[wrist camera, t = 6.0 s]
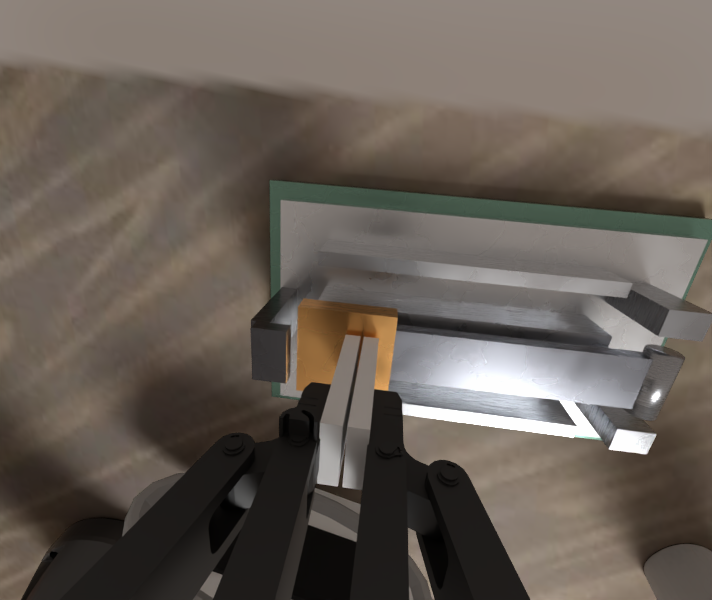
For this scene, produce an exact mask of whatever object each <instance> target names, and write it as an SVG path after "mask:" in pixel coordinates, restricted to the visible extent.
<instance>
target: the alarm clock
mask: <svg viewBox="0 0 712 600" xmlns="http://www.w3.org/2000/svg"><path fill="white" fill-rule="evenodd" d="M184 474H185V473H178V474H175V475H172V476H169V477H166V478H164V479H161V480H158V481H155V482H153V483H152V484H150V485H149V486H148V487H147V488H145V489H144V490H143V491H142V492H141V493H139V494H138V495H137V496H136V497H135V498H134V499H133V502H132V504H131V506H130V508H129V511H128V513H127V515H126V518H125V522H124V528H123V534H122V536H123V535H124V534H125V533H126V532H127V531H128V530H129V529H130V528H131V527H132V526H133V525H134V524H135V523H136V522H137V521H138V520H139V519H140V518H141V517H142V516H143V515H144V514H145V513H146V512H147V511H148V510H149V509H150V508H151V507H152V506H153V505H154V504H155V503H156V502H157V501H158V500H159V499H160V498H161V497H162V496H163V495H164V494H165V493H166V492H167V491H168V490H169V489H170V488H171V487H172V486H173V485H174V484H175V483H176V482H177V481H178V480H179V479H180V478H181V477H182V476H183V475H184ZM360 506H361V504H358V503H355V502H353V501H350V500H347V499H345V498H342V497H339V496H336V495H334V494H331V493H328V492H325V491H323V490H320V489H317V488H315V493H314V501H313V505H312V509H311V514H310V518H309V523H308V527H307V531H306V536H305V540H304V544H303V549H302V553H301V557H300V562H299V566H298V571H297V575H296V579H295V584H294V588H293V592H292V597H291V600H350V593H351V585H352V576H353V567H354V559H355V550H356V541H357V532H358V524H359V515H360ZM240 531H241V530H240ZM240 531H239V533H238V534H237V536H236V537H235V539H234V540H233V542H232V543H231V545H230V546H229V548H228V549H227V550H226V552H225V553H224V555H223V556H222V558H221V559H220V561H219V562H218V564H217V565H216V567H215V568H214V570H213V571H212V572H211V574H210V575H209V577H208V578H207V580H206V581H205V583H204V584H203V586H202V587H201V589H200V590H199V591H198V593H197V594H196V596H195V597H194V599H193V600H213V598H214V595H215V593H216V590H217V588H218V585H219V583H220V580H221V578H222V576H223V573H224V571H225V568H226V566H227V563H228V561H229V558H230V556H231V553H232V551H233V549H234V546H235V544H236V541H237V539H238V536H239V534H240ZM408 566H409V600H432V597H431V594H430V590H429V587H428V583H427V580H426V579H425V577H424V576H423V574H422V573H421V571H420V570H419V568H418V566H417V565H416V563H415V562H414V560H413V559H412V558H411V557H410V556H409V555H408Z"/></svg>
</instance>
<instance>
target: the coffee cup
mask: <svg viewBox="0 0 712 600" xmlns="http://www.w3.org/2000/svg"><path fill="white" fill-rule="evenodd" d="M644 573H645V576H646V578H647V580H648V582H649V584H650V586H651V588H652V590H653V592H654V594H655V596H656V598H657V600H712V551H710V550H709V549H707V548H704V547H702V546H698V545H694V544H679V545H674V546H670V547H667V548H665V549H662V550H660V551H658V552H657V553H655V554H653V555H652V556H651V557H650V558H649V559H648V560H647V561H646V563H645V566H644Z"/></svg>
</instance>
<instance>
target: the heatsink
mask: <svg viewBox="0 0 712 600" xmlns="http://www.w3.org/2000/svg"><path fill="white" fill-rule="evenodd" d="M711 240H712V219H708V218H700V217H689V216H677V215H666V214H655V213H644V212H632V211H621V210H610V209H599V208H588V207H576V206H565V205H554V204H543V203H532V202H520V201H509V200H498V199H487V198H475V197H464V196H453V195H442V194H431V193H419V192H408V191H397V190H386V189H374V188H363V187H352V186H341V185H330V184H318V183H307V182H296V181H285V180H270V267H271V299H270V300H269V302H268V303H267V304H266V305H265V306H264V307H263V308H262V309H261V310H260V311H259V312H258V313H257V314H256V315H255V316H254V318H253V319H252V320H251V352H252V379H254V380H262V381H269V382H272V396H273V397H280V398H288V399H295V400H300V398H301V395H302V392H303V391H298V390H296V378H297V328H298V306H299V304H300V303H301V301H302V300H303V298H305V299H314V300H323V301H332V302H342V303H351V304H360V305H369V306H378V307H388V308H397V310H398V320H397V324H398V325H407V326H416V327H424V328H433V329H442V330H451V331H460V332H469V333H478V334H487V335H496V336H505V337H514V338H523V339H532V340H541V341H550V342H559V343H568V344H577V345H586V346H595V347H604V348H613V349H622V350H631V351H640V352H643V349H644V347H645V345H648V344H653V345H659V346H663V347H664V345H665V343H666V340H667V338H676V339H685V340H694V341H703V339H704V337H705V335H706V333H707V331H708V329H709V327H710V325H711V323H712V313H711V312H709V311H707V310H704V309H702V308H700V307H698V306H696V305H694V304H692V303H689V302H687V301H685V298H686V296H687V293H688V291H689V289H690V287H691V284H692V282H693V280H694V278H695V276H696V273H697V271H698V269H699V267H700V264H701V262H702V260H703V258H704V255H705V253H706V251H707V249H708V247H709V244H710V242H711ZM388 391H393V392H397V393H398V394H399V396H400V398H401V399H402V414H403V415H410V416H418V417H425V418H433V419H440V420H448V421H455V422H463V423H470V424H478V425H485V426H493V427H500V428H508V429H515V430H523V431H530V432H538V433H545V434H552V435H560V436H567V437H580V438H587V439H595V440H602V441H603V442H604V443H605V445H606V446H607V447H608V449H610V450H618V451H625V452H633V453H640V454H647V453H648V451H649V449H650V447H651V445H652V443H653V441H654V439H655V437H656V435H657V434H656V433H655V432H654V431H653V430H652V429H651V428H650V427H649V426H648V425H647V424H646V423H645V422H644V421H643V420H642V419H640V418H637V417H635V416H633V415H631V414H629V413H627V412H626V411H625V410H624V409H623V408H618V407H610V406H602V405H593V404H585V403H577V402H569V401H560V400H552V399H544V398H536V397H527V396H519V395H511V394H503V393H494V392H486V391H478V390H469V389H461V388H453V387H445V386H436V385H428V384H420V383H412V382H403V381H395V380H389V388H388Z"/></svg>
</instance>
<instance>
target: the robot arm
mask: <svg viewBox="0 0 712 600" xmlns="http://www.w3.org/2000/svg"><path fill="white" fill-rule="evenodd" d="M360 338H361V336H355V335H345V339H344V342H343V346H342V349H341V352H340V356H339V359H338V363H337V366H336V370H335V373H334V376H333V380H332V383H331V384H323V383H316V382H311V383H310V384H309V385H308V386H306V387H305V388H304V390H303V392H302V395H301V398H300V400H299V402H298V405H297V407H295V408H291V409H288V410H286V411H285V412H283V413H282V414H281V416H280V417H279V438H277V439H274V440H272V441H267V442H259V443H254V440H253V439H252V437H251V436H249V435H247V434H244V433H232V434H229V435H226V436H223V437H222V438H221V439H219V440H218V441H217V442H216V443H215V444H214V445H213V446H212V447H211V448H210V449H209V450H208V451H207V452H206V453H205V454H204V455H203V456H202V457H201V458H200V459H199V460H198V461H197V462H196V463H195V464H194V465H193V466H192V467H191V468H190V469H189V470H188V471H187V472H186V473H185V474H184V475H183V476H182V477H181V478H180V479H179V480H178V481H177V482H176V483H175V484H174V485H173V486H172V487H171V488H170V489H169V490H168V491H167V492H166V493H165V494H164V495H163V496H162V497H161V498H160V499H159V500H158V501H157V502H156V503H155V504H154V505H153V506H152V507H151V508H150V509H149V510H148V511H147V512H146V513H145V514H144V515H143V516H142V517H141V518H140V519H139V520H138V521H137V522H136V523H135V524H134V525H133V526H132V527H131V528H130V529H129V530H128V531H127V532H126V533H125V534H124V535H123V536H122V534H123V528H124V522H123V521H119V520H113V519H104V518H95V519H87V520H83V521H79V522H77V523H75V524H73V525H71V526H70V527H69V528H68V529H66V531H65V532H64V533H63V534H62V535H61V536H60V537H59V538H58V539H57V541H56V542H55V543H54V544H53V545H52V546H51V547H50V548H49V550H48V551H47V553H46V554H45V556H44V558H43V559H42V562H41V563H40V565H39V567H38V569H37V571H36V572H35V574H34V576H33V578H32V580H31V582H30V584H29V586H28V587H27V589H26V591H25V593H24V595H23V597H22V599H21V600H193V599H194V597H195V596H196V594H197V593H198V591H199V590H200V589H201V587H202V586H203V584H204V583H205V581H206V580H207V578H208V577H209V575H210V574H211V572H212V571H213V570H214V568H215V567H216V565H217V564H218V562H219V561H220V559H221V558H222V556H223V555H224V553H225V552H226V550H227V549H228V548H229V546H230V545H231V543H232V542H233V540H234V539H235V537H236V536H237V534H238V533H239V531H240V530H241V531H240V534H239V536H238V539H237V541H236V544H235V546H234V549H233V551H232V553H231V556H230V558H229V561H228V563H227V566H226V568H225V571H224V573H223V576H222V578H221V580H220V583H219V585H218V588H217V590H216V593H215V595H214V598H213V600H291V597H292V592H293V588H294V584H295V579H296V575H297V571H298V566H299V562H300V557H301V553H302V549H303V544H304V540H305V536H306V531H307V527H308V523H309V518H310V514H311V509H312V505H313V501H314V493H315V484H316V480H317V484H323V485H330V486H337V487H338V483H339V477H340V471H341V466H342V460H343V455H344V449H345V443H346V451H345V462H344V474H343V486H342V487H344V488H351V489H357V490H362V498H361V506H360V515H359V524H358V532H357V541H356V550H355V559H354V567H353V576H352V585H351V593H350V600H409V566H408V528H410V529H412V530H414V531H416V535H417V539H418V542H419V546H420V549H421V553H422V556H423V560H424V563H425V567H426V570H427V574H428V577H429V581H430V584H431V588H432V591H433V595H434V598H435V600H530V598H529V596H528V594H527V592H526V590H525V588H524V586H523V584H522V582H521V580H520V578H519V576H518V574H517V572H516V570H515V568H514V566H513V564H512V562H511V560H510V558H509V556H508V554H507V552H506V550H505V548H504V546H503V544H502V542H501V540H500V538H499V536H498V534H497V532H496V530H495V528H494V526H493V524H492V522H491V520H490V518H489V516H488V514H487V512H486V510H485V508H484V506H483V504H482V502H481V500H480V498H479V496H478V494H477V492H476V490H475V488H474V486H473V484H472V482H471V480H470V478H469V476H468V475H467V473H466V472H465V471H464V469H463V468H461V467H460V466H459V465H457V464H455V463H453V462H451V461H446V460H438V461H434V462H433V463H432V464H430V465H429V466H428V465H426V464H423V463H421V462H419V461H417V460H415V459H414V458H412V457H411V456H410V455H409V454H408V453H407V452H406V450H405V448H404V444H403V417H402V416H403V414H402V399H401V398H400V396H399V394H398V393H397V392H393V391H385V390H377V389H374V386H375V375H376V364H377V354H378V343H379V338H372V337H364V339H363V344H362V350H361V355H360V361H359V366H358V359H359V349H360ZM357 370H358V372H357ZM346 438H347V439H346Z"/></svg>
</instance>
